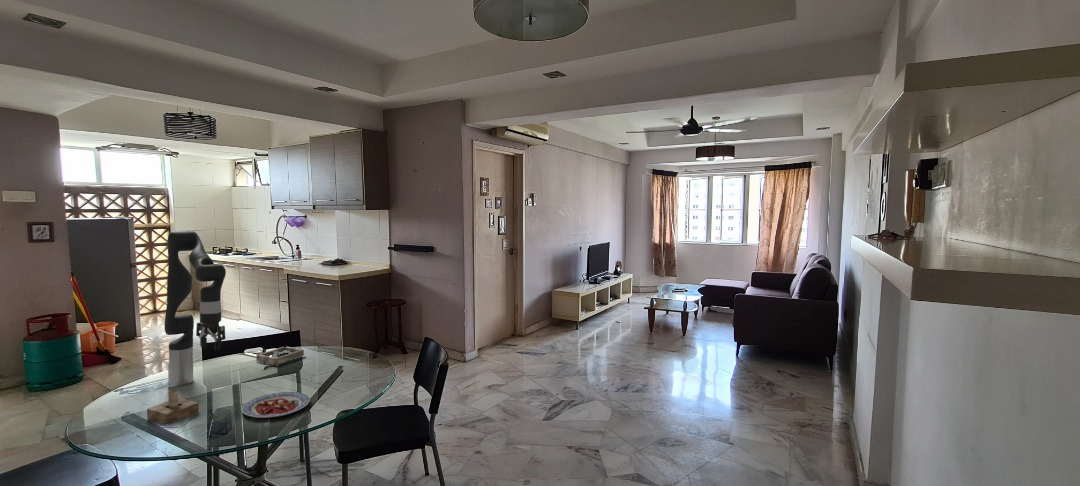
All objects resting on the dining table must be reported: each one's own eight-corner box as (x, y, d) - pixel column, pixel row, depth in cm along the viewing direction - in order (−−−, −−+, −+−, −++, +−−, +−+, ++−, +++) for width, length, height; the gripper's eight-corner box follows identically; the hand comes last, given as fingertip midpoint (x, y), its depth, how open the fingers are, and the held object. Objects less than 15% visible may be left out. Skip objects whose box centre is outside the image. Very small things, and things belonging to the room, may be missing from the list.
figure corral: (256, 362, 255) (256, 355, 255) (285, 352, 273) (285, 346, 272) (275, 366, 250) (275, 359, 250) (303, 356, 268) (303, 349, 267)
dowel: (166, 415, 189) (166, 386, 188) (175, 412, 192) (174, 384, 191) (171, 416, 188) (171, 388, 187) (180, 413, 191) (179, 385, 190)
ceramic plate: (238, 426, 184) (238, 419, 184) (245, 401, 207) (245, 394, 206) (310, 415, 196) (310, 409, 196) (309, 393, 219) (309, 386, 218)
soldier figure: (266, 366, 252) (263, 354, 261) (273, 370, 255) (270, 358, 264) (278, 356, 254) (275, 344, 262) (285, 360, 257) (281, 348, 266)
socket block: (147, 418, 186) (147, 408, 186) (179, 407, 197) (179, 397, 197) (167, 424, 182) (167, 414, 182) (198, 412, 193) (198, 402, 193)
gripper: (189, 310, 196) (190, 347, 197) (213, 314, 191) (213, 353, 192) (207, 307, 203) (207, 343, 204) (231, 311, 198) (231, 348, 199)
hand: (210, 348), depth 198 cm, fingers open, 8 cm apart
